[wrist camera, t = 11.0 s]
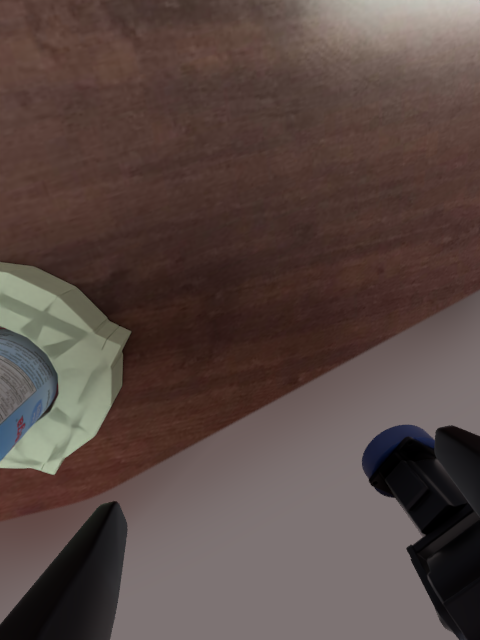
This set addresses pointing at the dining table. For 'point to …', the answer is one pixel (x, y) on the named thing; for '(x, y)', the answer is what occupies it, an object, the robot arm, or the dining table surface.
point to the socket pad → (62, 362)
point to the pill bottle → (22, 387)
